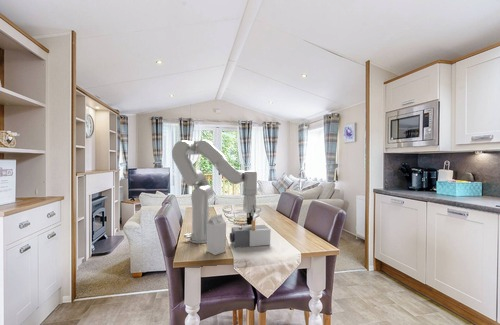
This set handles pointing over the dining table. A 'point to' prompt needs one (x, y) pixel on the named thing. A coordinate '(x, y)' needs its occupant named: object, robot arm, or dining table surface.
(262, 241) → the side door
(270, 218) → the dining table surface
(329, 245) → the dining table surface
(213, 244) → the milk carton
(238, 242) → the box
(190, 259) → the dining table surface
